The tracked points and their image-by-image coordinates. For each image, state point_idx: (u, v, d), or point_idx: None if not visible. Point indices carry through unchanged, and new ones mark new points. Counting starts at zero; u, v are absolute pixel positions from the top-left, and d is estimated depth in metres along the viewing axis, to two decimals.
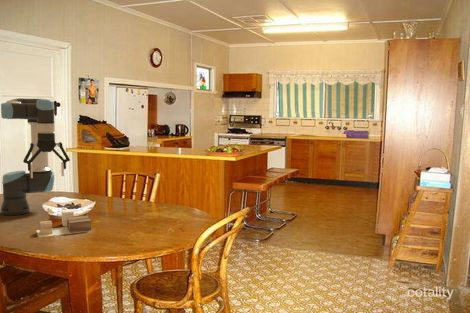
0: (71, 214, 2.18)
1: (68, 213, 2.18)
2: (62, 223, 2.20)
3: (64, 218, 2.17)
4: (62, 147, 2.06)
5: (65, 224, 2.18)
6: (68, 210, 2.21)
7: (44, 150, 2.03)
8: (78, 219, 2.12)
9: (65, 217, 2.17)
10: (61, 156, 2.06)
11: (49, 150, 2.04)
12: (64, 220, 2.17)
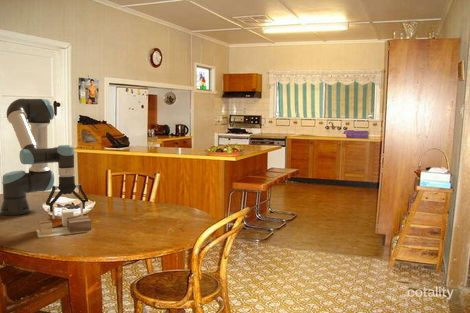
0: (71, 214, 2.18)
1: (68, 213, 2.18)
2: (62, 223, 2.20)
3: (64, 218, 2.17)
4: (81, 189, 2.20)
5: (65, 224, 2.18)
6: (68, 210, 2.21)
7: (65, 192, 2.17)
8: (78, 219, 2.12)
9: (65, 217, 2.17)
10: (80, 197, 2.21)
11: (69, 192, 2.18)
12: (64, 220, 2.17)
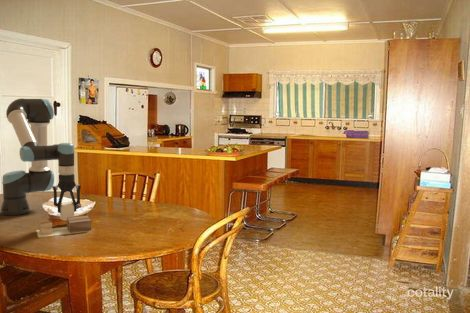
0: (70, 207, 2.18)
1: (67, 206, 2.18)
2: None
3: (63, 211, 2.17)
4: (79, 190, 2.20)
5: (64, 217, 2.18)
6: (67, 203, 2.21)
7: (65, 190, 2.17)
8: (78, 219, 2.12)
9: (64, 210, 2.17)
10: (74, 199, 2.20)
11: (69, 190, 2.18)
12: (63, 213, 2.17)
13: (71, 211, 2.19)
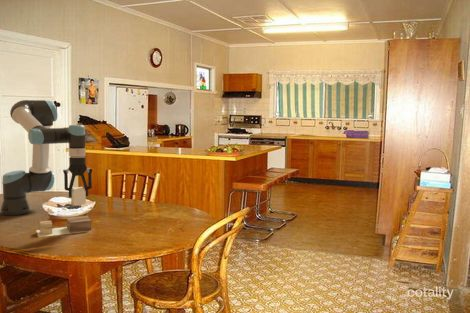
0: (82, 191, 2.10)
1: (79, 190, 2.09)
2: None
3: (74, 195, 2.08)
4: (90, 174, 2.12)
5: (76, 201, 2.09)
6: (79, 187, 2.12)
7: (76, 174, 2.09)
8: (78, 219, 2.12)
9: (76, 194, 2.09)
10: None
11: (80, 174, 2.10)
12: (75, 197, 2.09)
13: (83, 195, 2.10)
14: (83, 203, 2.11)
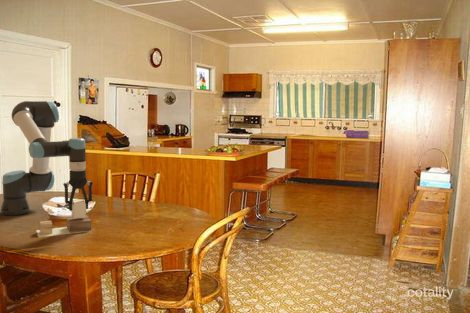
0: (82, 204, 2.11)
1: (79, 203, 2.10)
2: None
3: (75, 208, 2.09)
4: (91, 187, 2.13)
5: (76, 214, 2.10)
6: (79, 200, 2.13)
7: (76, 187, 2.10)
8: (78, 219, 2.12)
9: (76, 207, 2.09)
10: (86, 196, 2.12)
11: (80, 187, 2.11)
12: (75, 210, 2.09)
13: (83, 208, 2.11)
14: (83, 216, 2.12)
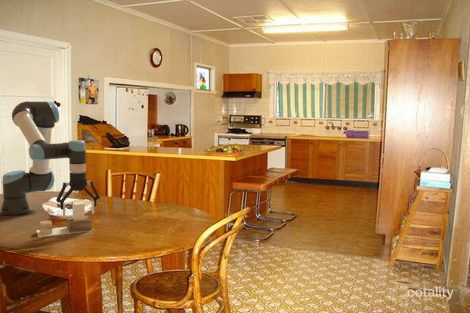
0: (82, 206, 2.11)
1: (79, 205, 2.10)
2: (73, 216, 2.12)
3: (75, 210, 2.09)
4: (93, 186, 2.13)
5: (76, 217, 2.10)
6: (79, 202, 2.13)
7: (76, 189, 2.10)
8: None
9: (76, 209, 2.10)
10: None
11: (81, 189, 2.11)
12: (75, 213, 2.10)
13: (83, 211, 2.11)
14: (83, 218, 2.12)
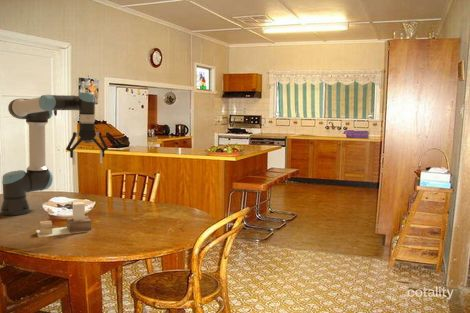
0: (82, 206, 2.11)
1: (79, 205, 2.10)
2: (73, 216, 2.12)
3: (75, 210, 2.09)
4: (101, 136, 2.23)
5: (76, 217, 2.10)
6: (79, 202, 2.13)
7: (85, 139, 2.19)
8: None
9: (76, 209, 2.10)
10: (100, 145, 2.23)
11: (89, 139, 2.20)
12: (75, 213, 2.10)
13: (83, 211, 2.11)
14: (83, 218, 2.12)
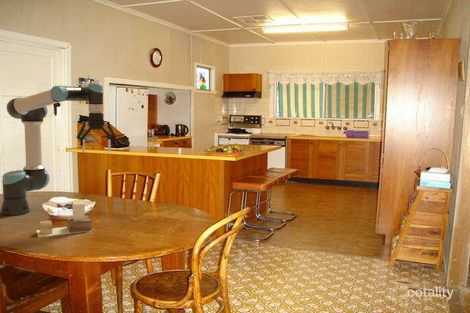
0: (82, 206, 2.11)
1: (79, 205, 2.10)
2: (73, 216, 2.12)
3: (75, 210, 2.09)
4: (109, 125, 2.34)
5: (76, 217, 2.10)
6: (79, 202, 2.13)
7: (94, 128, 2.31)
8: None
9: (76, 209, 2.10)
10: (108, 133, 2.34)
11: (98, 128, 2.32)
12: (75, 213, 2.10)
13: (83, 211, 2.11)
14: (83, 218, 2.12)
